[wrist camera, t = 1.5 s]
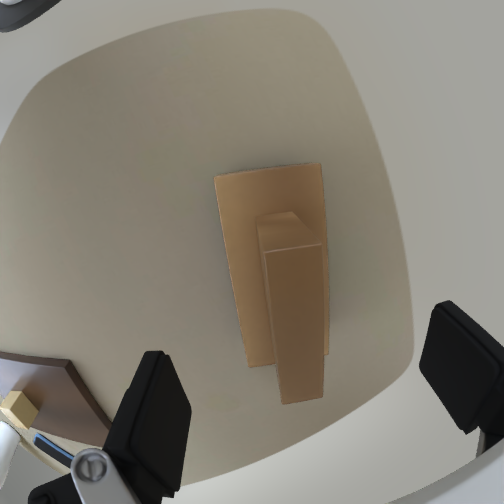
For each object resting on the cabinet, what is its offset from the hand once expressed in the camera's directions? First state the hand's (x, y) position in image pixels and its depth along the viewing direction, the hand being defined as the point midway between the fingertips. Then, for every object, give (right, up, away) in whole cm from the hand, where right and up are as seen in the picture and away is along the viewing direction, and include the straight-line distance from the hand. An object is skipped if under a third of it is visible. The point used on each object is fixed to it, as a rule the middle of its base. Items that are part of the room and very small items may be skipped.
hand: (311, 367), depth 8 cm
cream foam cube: (-30, -15, +12) cm, 36 cm away
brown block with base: (-1, +3, +8) cm, 9 cm away
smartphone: (-33, -32, +19) cm, 50 cm away
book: (-27, -14, +13) cm, 33 cm away
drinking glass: (-48, -30, +18) cm, 60 cm away
